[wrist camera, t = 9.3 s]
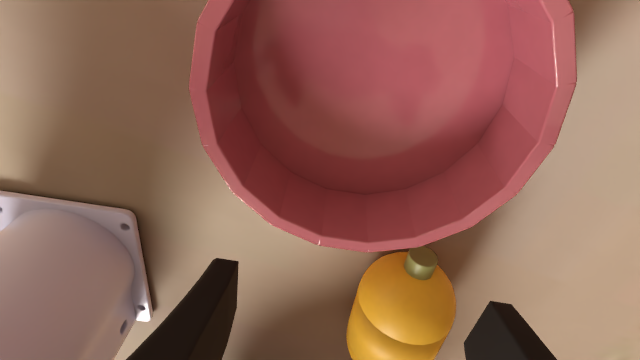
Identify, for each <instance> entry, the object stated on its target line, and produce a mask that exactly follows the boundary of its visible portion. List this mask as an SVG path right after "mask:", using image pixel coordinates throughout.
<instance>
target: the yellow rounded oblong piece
mask: <svg viewBox="0 0 640 360" xmlns="http://www.w3.org/2000/svg"><path fill="white" fill-rule="evenodd" d="M437 263H438V257H437V255H436V254H435V253H434V252H433V251H432V250H431V249H429V248H427V247H424V246H421V247H416V248H410V250H409V252H396V253H391V254H388V255H385V256H383V257H381V258H379V259H378V260H376V261H375V262H374V263H373V264H371V265H370V267H369V268H368V269H367V270H366V272H365V273H364V275H363V277H362V279H361V281H360V284H359V287H358V290H357V294H356V297H355V300H354V304H353V307H352V311H351V314H350V317H349V321H348V325H347V335H346V338H347V345H348V350H349V353H350V356H351V358H352V360H434V358H435V357H436V355H437V353H438V351H439V349H440V348H441V346H442V344H443V342H444V340H445V339H446V337H447V335H448V333H449V331H450V329H451V327H452V324H453V321H454V318H455V313H456V299H455V294H454V290H453V287H452V285H451V282H450V281H449V279H448V277H447V276H446V274H445V273H444V271H443V270H442V269H441V268H440V267H439V266H438V265H437Z"/></svg>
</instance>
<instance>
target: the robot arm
mask: <svg viewBox="0 0 640 360" xmlns="http://www.w3.org/2000/svg"><path fill="white" fill-rule="evenodd" d="M126 224H127V225H128V226H127V225H126ZM237 285H238V261H232V260H226V259H219V258H216V259H214V260H213V261H212V262H211V264H210V265H209V266H208V268H207V269H206V271H205V272H204V273H203V275H202V276H201V277H200V279H199V280H198V281H197V282H196V284H195V285H194V286H193V287H192V289H191V290H190V291H189V292H188V293H187V295H186V296H185V297H184V298H183V299H182V301H181V302H180V303H179V304H178V305H177V306H176V307H175V309H174V310H173V311H172V312H171V313H170V314H169V315H168V317H167V318H166V319H165V320H164V321H163V322H162V323H161V324H160V325H159V326H158V328H157V329H156V330H155V331H154V332H153V333H152V334H151V335H150V336H149V337H148V338H147V339H146V340H145V341H144V342H143V343H142V344H141V345H140V346H139V347H138V348H137V349H136V350H135V351H134V352H133V353H132V354H131V355H130V356H129V357H128V358H127V359H126V360H222V357H223V354H224V351H225V349H226V346H227V343H228V339H229V335H230V332H231V328H232V324H233V320H234V316H235V312H236V308H237ZM152 317H153V310H152V304H151V299H150V293H149V287H148V282H147V276H146V271H145V265H144V260H143V254H142V248H141V243H140V237H139V232H138V226H137V220H136V216H135V214H134V213H133V212H131V211H130V210H127V209H121V208H114V207H107V206H101V205H94V204H87V203H80V202H74V201H67V200H60V199H54V198H47V197H40V196H33V195H27V194H20V193H13V192H7V191H0V360H114V358H115V356H116V355H117V353H118V351H119V349H120V347H121V346H122V344H123V342H124V340H125V338H126V337H127V335H128V333H129V331H130V330H131V328H132V326H133V324H134V322H135V321H136V320H138V321H150V320H151V318H152ZM464 348H465V356H466V360H557V359H556V358H555V357H554V355H553V354H552V353H551V352H550V351H549V349H548V348H547V347H546V346H545V344H544V343H543V342H542V341H541V340H540V338H539V337H538V336H537V335H536V333H535V332H534V331H533V330H532V329H531V327H530V326H529V325H528V324H527V322H526V321H525V320H524V319H523V318H522V316H521V315H520V314H519V313H518V312H517V310H516V309H515V308H514V307H513V306H512V305H511V304H506V303H500V302H493V301H490V302H489V304H488V305H487V307H486V308H485V310H484V312H483V313H482V315H481V316H480V318H479V320H478V321H477V323H476V324H475V326H474V328H473V329H472V331H471V332H470V334H469V335H468V337H467V339H466V340H465V342H464Z"/></svg>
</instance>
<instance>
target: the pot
mask: <svg viewBox="0 0 640 360" xmlns="http://www.w3.org/2000/svg"><path fill="white" fill-rule="evenodd" d="M576 82H577V69H576V43H575V18H574V12H573V8H572V6H571V4H570V2H569V0H208V2H207V3H206V5H205V7H204V9H203V11H202V13H201V14H200V16H199V18H198V22H197V24H196V32H195V40H194V48H193V56H192V64H191V72H190V80H189V92H190V96H191V100H192V105H193V109H194V113H195V117H196V121H197V126H198V130H199V134H200V138H201V142H202V145H203V147H204V149H205V151H206V152H207V154H208V155H209V157H210V158H211V160H212V162H213V163H214V165H215V166H216V168H217V169H218V171H219V173H220V174H221V176H222V177H223V179H224V180H225V182H226V184H227V185H228V187H229V188H230V190H231V191H232V193H233V194H235V195H236V196H237V197H238V198H239V199H241V200H242V201H243V202H244V203H245V204H247V205H248V206H249V207H250V208H251V209H253V210H254V211H255V212H256V213H257V214H259V215H260V216H261V217H262V218H263V219H264V220H266V221H267V222H268V223H269V224H271V225H273V226H275V227H277V228H279V229H282V230H284V231H286V232H288V233H291V234H293V235H295V236H298V237H300V238H302V239H304V240H307V241H309V242H311V243H314V244H316V245H317V244H318V245H319V246H326V247H333V248H339V249H346V250H353V251H360V252H369V253H370V252H379V251H388V250H398V249H407V248H416V247H421V246H424V245H426V244H429V243H432V242H434V241H437V240H440V239H442V238H445V237H448V236H450V235H453V234H456V233H458V232H461V231H464V230H466V229H469V227H470V228H471V227H473V226H474V225H475V224H477V223H478V222H480V221H481V220H482V219H484V218H485V217H486V216H488V215H489V214H491V213H492V212H493V211H495V210H496V209H498V208H499V207H500V206H502V205H503V204H505V203H506V202H507V201H509V200H510V199H512V198H513V197H514V196H516V195H517V193H518V192H519V191H520V190H521V189H522V187H523V186H524V185H525V183H526V182H527V181H528V180H529V178H530V177H531V176H532V174H533V173H534V172H535V171H536V169H537V168H538V167H539V165H540V164H541V163H542V162H543V160H544V159H545V158H546V156H547V155H548V154H549V153H550V151H551V150H552V149H553V147H554V145H555V144H556V141H557V138H558V136H559V133H560V130H561V127H562V124H563V121H564V118H565V116H566V113H567V110H568V107H569V104H570V101H571V98H572V96H573V93H574V90H575V87H576Z"/></svg>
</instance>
